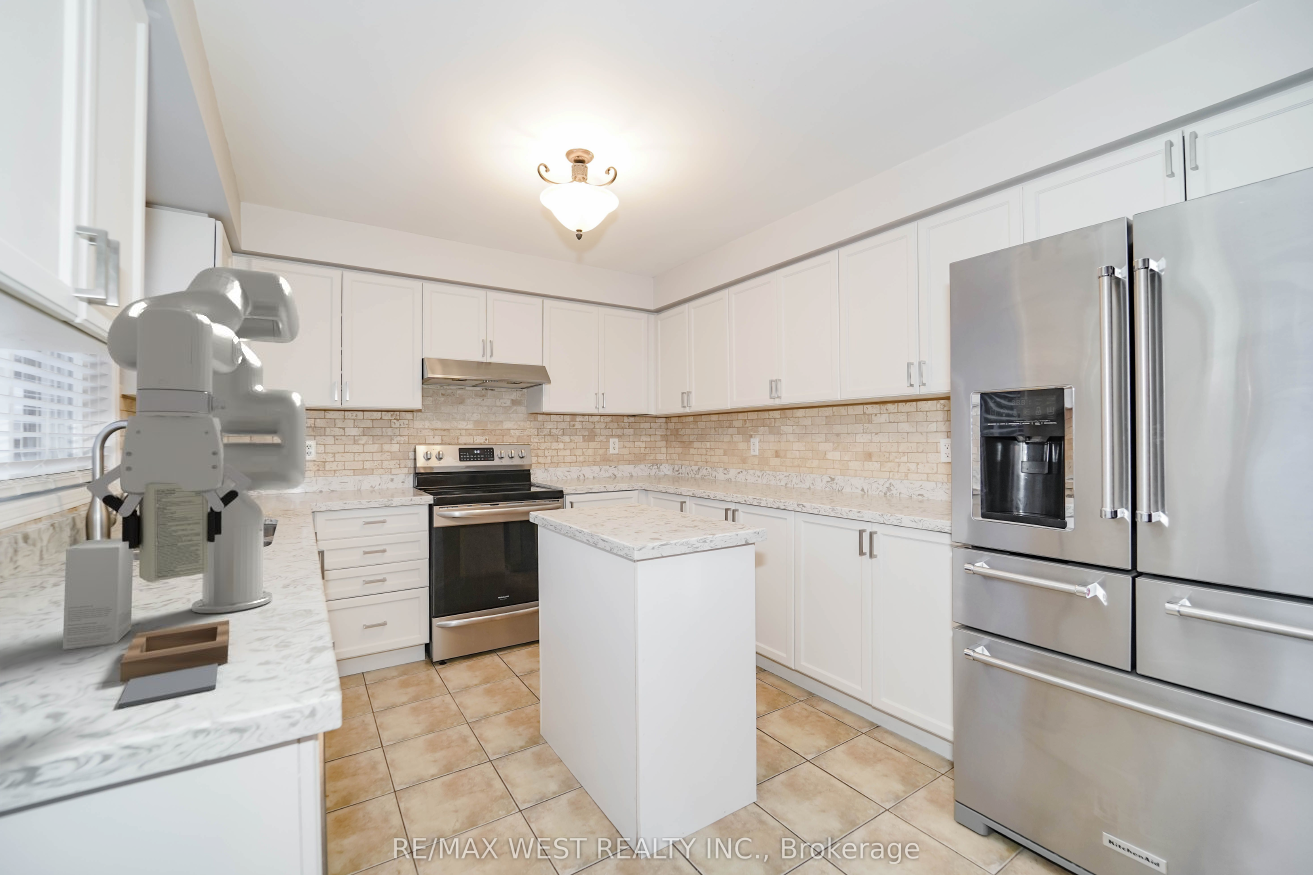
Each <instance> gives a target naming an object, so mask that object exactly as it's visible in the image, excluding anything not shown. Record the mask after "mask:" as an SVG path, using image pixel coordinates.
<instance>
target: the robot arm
mask: <svg viewBox="0 0 1313 875" xmlns="http://www.w3.org/2000/svg"><path fill="white" fill-rule="evenodd" d="M295 299H296V298H295V296H294V293H293V290H292V288H291V286H290V284H289V283H288V282H287V281H286V279H285V278H283V276H281V275H280V274H276V273H272V272H268V271H261V270H260V271H259V270H249V269H242V268H233V267H226V266H225V267H224V266H223V267H222V266H214V267H208V268H205V269H203V270H201V271H200V272H198V273H197V274H196V275H195V276H194V278H193V280H191V283H189V285H188V287H186V289H185V290H181V291H174V292H171V293H170V292H169V293H166V294H165V293H164V294H160V295H154V296H148V297H145V298H141V299H140V298H139V299H137V300H135V301H133V302H130V303H128V305H126V306H125V307H124V308H122V310H121V311H120V312H119V313H118V314H117V315H116V317H115V318H114V319H113V321H112V323H111V325H110V327H109V329H108V332H107V337H106V345H107V352H108V354H109V357H110V358H111V359H112V361H113V362H114V363H115V364H116V365H117V366H119V367H120V368H122V369H124V370H127V371H131V372H136V395H135V396H136V397H135V398H136V399H135V405H136V406H135V415H129V416H128V419H127V422H126V425H125V426H126V427H125V431H124V435H123V441H122V449H121V458H120V464H118V465H117V466H116V467H114V468H112V469H110V470H108V471H107V472H106V473H104V474H102V475H100V476H99V477H98V478H96V479H95V480H93V481H91V482H90V483H88V484H87V485H86V489H87V491H89V492H90V493H91V494H93V496H95V497H96V498H97V499H99V500H100V501H101V503H103V504H104V505H105V506H107V507H108V508H109V509H111V510H112V511H113V512H115V513H117V514H118V515H119V517H121V538H122V542H129V549H133V550H134V549H136V548H137V547H139V513H138V509H137V508H139V502H140V500H141V499H142V497H143V495H144V494H145V485H148V484H179V485H180V487H181V488H182V490H183V491H187V492H194V493H203V495H204V496H205V498H206V499H207V501H208V573H203V574H202V580H201V581H202V582H201V583H202V589H201V590H202V591H201V593H202V594H201V596H202V598H201V599H199V600H196V601H194V602H192V604H191V611H192V612H194V613H198V614H220V613H221V614H222V613H229V612H230V613H231V612H238V611H242V610H243V611H244V610H248V609H253V608H257V607H260V606H263V605H265V604H268V603H270V602H271V601H272V600H273V593H271V592H270V591H266V590H264V539H265V538H264V537H265V536H264V533H265V532H264V526H265V525H264V522H265V521H264V520H265V519H264V518H265V517H264V512H263V509H262V507H261V506H260V505H259V503H258V502H256V500H255V499H254V498H252V497H251V495H249V493H248V492H255V491H257V492H258V491H280V490H292V489H297V488H299V487H300V486H302V484H303V483H304V481H305V477H306V472H307V412H306V411H307V410H306V405H305V404H306V403H305V402H304V399H303V398H302V396H301V395H300V394H299V393H298V392H296V391H292V390H288V389H272V388H270V389H269V388H265V387H264V365H263V362H261V360H260V359H259V358H258V357H257V355H256V354H255V353H254V352H253V351H252V350H251V349H250V348H249V347H248V346H247V345H246V344H245V343H243V341H244V342H245V341H247V342H258V343H259V342H261V343H274V344H287V343H291V342H294V340H295V339H296V338H297V337H298V334H299V331H300V316H299V312H298V309H297V304H296V300H295ZM223 436H232V437H233V436H236V437H237V436H238V437H276V438H278V439H279V440H280V442H255V441H254V442H250V441H247V442H246V441H245V442H244V441H243V442H242V441H241V442H240V441H239V442H237V441H235V442H234V441H233V442H229V441H228V442H224V438H223ZM117 480H119V484H120V485H119V486H120V490H121V491H122V492H123V493H126V494H128V496H127V497H126V498H125V500H123V499H122V498H121V497H119V496H118V495H117V494H114V493H113V492H112V491H111V490H110V489H109V486H110V485H111V484H113V483H114V482H116V481H117Z"/></svg>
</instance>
